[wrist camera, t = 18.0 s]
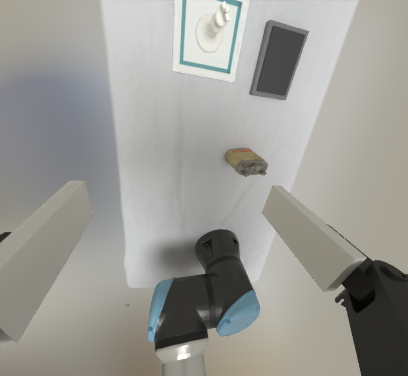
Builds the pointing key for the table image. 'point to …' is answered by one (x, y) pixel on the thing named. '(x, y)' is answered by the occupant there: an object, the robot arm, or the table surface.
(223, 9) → the chess piece
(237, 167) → the lighter
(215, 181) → the table surface
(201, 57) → the print card
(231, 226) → the table surface
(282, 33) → the ink pad
